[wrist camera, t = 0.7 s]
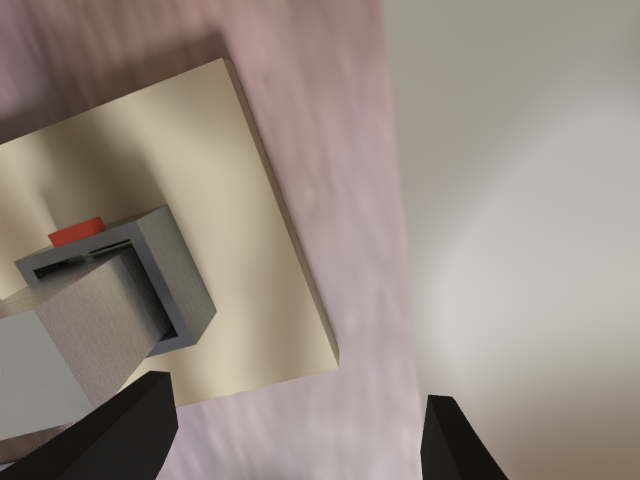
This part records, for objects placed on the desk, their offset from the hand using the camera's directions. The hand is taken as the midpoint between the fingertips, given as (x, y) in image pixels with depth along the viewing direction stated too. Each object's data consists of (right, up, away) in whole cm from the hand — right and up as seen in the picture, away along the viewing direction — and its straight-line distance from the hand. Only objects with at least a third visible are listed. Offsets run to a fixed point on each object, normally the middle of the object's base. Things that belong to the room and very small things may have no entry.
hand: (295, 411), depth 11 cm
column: (-8, +3, +9) cm, 13 cm away
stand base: (-8, +3, +11) cm, 14 cm away
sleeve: (-9, +3, +9) cm, 13 cm away
